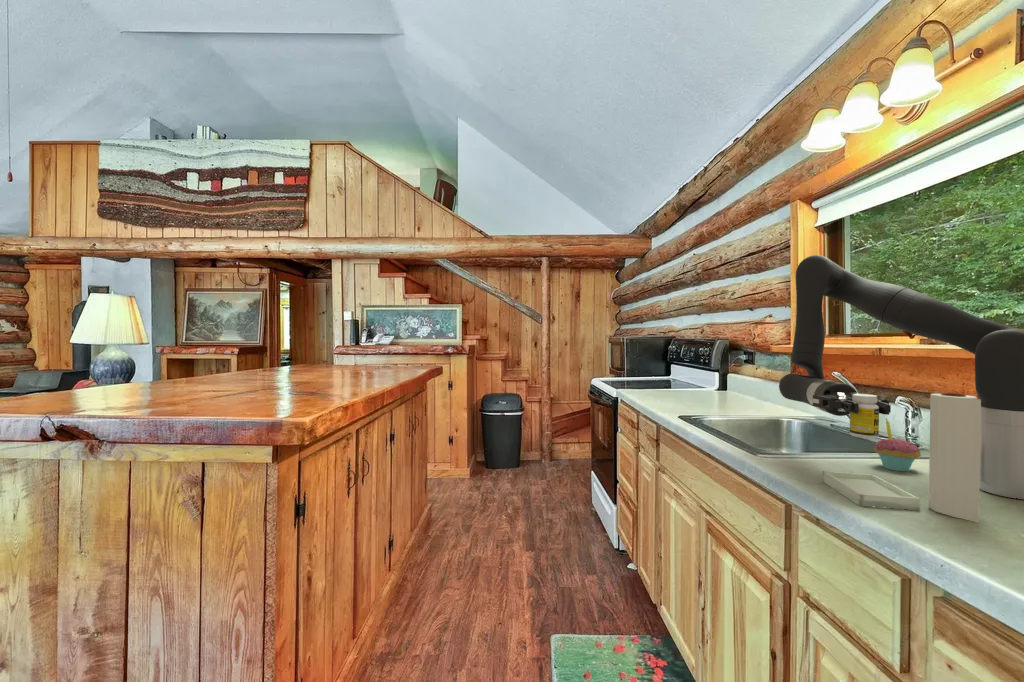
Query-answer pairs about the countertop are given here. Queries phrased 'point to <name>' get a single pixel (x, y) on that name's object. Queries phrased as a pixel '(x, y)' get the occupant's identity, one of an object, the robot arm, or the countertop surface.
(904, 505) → the tray
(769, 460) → the countertop surface
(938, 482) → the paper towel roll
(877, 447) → the cupcake
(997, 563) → the countertop surface
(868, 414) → the supplement bottle
